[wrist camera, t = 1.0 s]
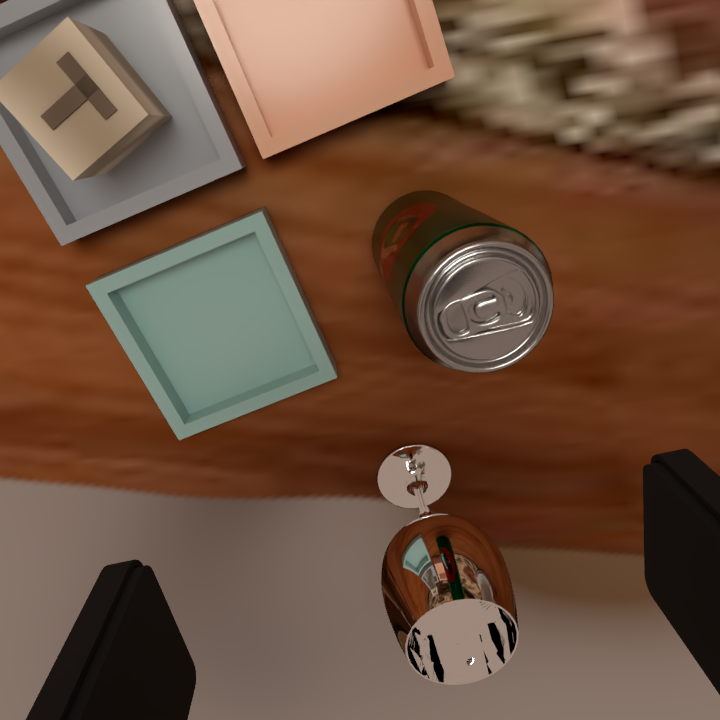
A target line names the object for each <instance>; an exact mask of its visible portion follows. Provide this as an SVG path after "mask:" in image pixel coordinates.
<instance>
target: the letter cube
mask: <svg viewBox="0 0 720 720" xmlns="http://www.w3.org/2000/svg"><path fill="white" fill-rule="evenodd" d="M0 102H1V103H2V104H3V105H4V106H5V107H6V108H7V109H8V110H9V111H10V113H11V114H12V115H13V116H14V117H15V118H16V119H17V120H18V121H19V122H20V123H21V125H22V126H23V127H24V128H25V129H26V130H27V131H28V132H29V133H30V134H31V135H32V137H33V138H34V139H35V140H36V141H37V142H38V143H39V144H40V145H41V146H42V147H43V149H44V150H45V151H46V152H47V153H48V154H49V155H50V156H51V157H52V158H53V159H54V161H55V162H56V163H57V164H58V165H59V166H60V167H61V168H62V169H63V170H64V172H65V173H66V174H67V175H68V176H69V177H70V178H71V179H72V180H73V181H74V180H79V179H84V178H89V177H93V176H98V175H103V174H107V173H108V172H110V171H111V170H112V169H113V168H114V167H115V166H117V165H118V164H119V163H120V162H121V161H122V160H123V159H125V158H126V157H127V156H128V155H129V154H130V153H132V152H133V151H134V150H135V149H136V148H137V147H138V146H140V145H141V144H142V143H143V142H144V141H145V140H147V139H148V138H149V137H150V136H151V135H152V134H153V133H155V132H156V131H157V130H158V129H159V128H160V127H161V126H163V125H164V124H165V123H166V122H167V121H168V120H170V119H171V118H172V115H171V114H170V113H169V112H168V111H167V109H166V108H165V107H164V106H163V104H162V103H161V102H160V101H159V99H158V98H157V97H156V96H155V94H154V93H153V92H152V91H151V90H150V88H149V87H148V86H147V85H146V83H145V82H144V81H143V80H142V78H141V77H140V76H139V75H138V73H137V72H136V71H135V70H134V69H133V67H132V66H131V65H130V64H129V62H128V61H127V60H126V59H125V57H124V56H123V55H122V54H121V52H120V51H119V50H118V49H117V47H116V46H115V45H114V44H113V43H112V41H111V40H110V39H109V38H108V36H107V35H106V34H105V33H102V32H100V31H98V30H96V29H94V28H92V27H89V26H87V25H85V24H83V23H81V22H78V21H76V20H74V19H72V18H70V17H67V18H66V19H64V20H63V21H62V22H61V23H60V24H59V25H58V26H57V27H56V28H55V29H54V30H53V31H52V32H51V33H50V34H49V35H48V36H46V37H45V38H44V39H43V40H42V41H41V42H40V43H39V44H38V45H37V46H36V47H35V48H34V49H33V50H32V51H31V52H30V53H28V54H27V55H26V56H25V57H24V58H23V59H22V60H21V61H20V62H19V63H18V64H17V65H16V66H15V67H14V68H13V69H12V70H11V71H9V72H8V73H7V74H6V75H5V76H4V77H3V78H2V79H1V80H0Z"/></svg>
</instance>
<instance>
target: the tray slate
mask: <svg viewBox="0 0 720 720" xmlns="http://www.w3.org/2000/svg"><path fill="white" fill-rule="evenodd" d="M67 17H70V18H72V19H74V20H76V21H78V22H81V23H83V24H85V25H87V26H89V27H92V28H94V29H96V30H98V31H100V32H102V33H105V34H106V35H107V36H108V38H109V39H110V40H111V41H112V43H113V44H114V45H115V46H116V47H117V49H118V50H119V51H120V52H121V54H122V55H123V56H124V57H125V59H126V60H127V61H128V62H129V64H130V65H131V66H132V67H133V69H134V70H135V71H136V72H137V73H138V75H139V76H140V77H141V78H142V80H143V81H144V82H145V83H146V85H147V86H148V87H149V88H150V90H151V91H152V92H153V93H154V94H155V96H156V97H157V98H158V99H159V101H160V102H161V103H162V104H163V106H164V107H165V108H166V109H167V111H168V112H169V113H170V114H171V115H172V118H171V119H170V120H168V121H167V122H166V123H165V124H164V125H163V126H161V127H160V128H159V129H158V130H157V131H156V132H155V133H153V134H152V135H151V136H150V137H149V138H148V139H147V140H145V141H144V142H143V143H142V144H141V145H140V146H138V147H137V148H136V149H135V150H134V151H133V152H132V153H130V154H129V155H128V156H127V157H126V158H125V159H123V160H122V161H121V162H120V163H119V164H118V165H117V166H115V167H114V168H113V169H112V170H111V171H110V172H108V173H107V174H103V175H98V176H93V177H89V178H84V179H79V180H74V181H73V180H72V179H71V178H70V177H69V176H68V175H67V174H66V173H65V172H64V170H63V169H62V168H61V167H60V166H59V165H58V164H57V163H56V162H55V161H54V159H53V158H52V157H51V156H50V155H49V154H48V153H47V152H46V151H45V150H44V149H43V147H42V146H41V145H40V144H39V143H38V142H37V141H36V140H35V139H34V138H33V137H32V135H31V134H30V133H29V132H28V131H27V130H26V129H25V128H24V127H23V126H22V125H21V123H20V122H19V121H18V120H17V119H16V118H15V117H14V116H13V115H12V114H11V113H10V111H9V110H8V109H7V108H6V107H5V106H4V105H3V104H2V103H1V102H0V145H1V147H2V148H3V150H4V152H5V153H6V155H7V157H8V158H9V160H10V162H11V163H12V165H13V167H14V168H15V170H16V172H17V173H18V175H19V177H20V178H21V180H22V182H23V183H24V185H25V187H26V188H27V190H28V191H29V193H30V195H31V196H32V198H33V200H34V201H35V203H36V205H37V206H38V208H39V210H40V211H41V213H42V215H43V216H44V218H45V220H46V221H47V223H48V225H49V226H50V228H51V230H52V231H53V233H54V234H55V236H56V238H57V239H58V241H59V243H60V244H61V246H63V245H65V244H67V243H70V242H72V241H74V240H77V239H79V238H81V237H84V236H86V235H88V234H91V233H93V232H95V231H98V230H100V229H102V228H105V227H107V226H109V225H112V224H114V223H116V222H119V221H121V220H123V219H126V218H128V217H130V216H133V215H135V214H137V213H140V212H142V211H144V210H146V209H149V208H151V207H153V206H156V205H158V204H160V203H163V202H165V201H167V200H170V199H172V198H174V197H177V196H179V195H181V194H184V193H186V192H188V191H191V190H193V189H195V188H198V187H200V186H202V185H205V184H207V183H209V182H212V181H214V180H216V179H219V178H221V177H223V176H225V175H228V174H230V173H232V172H235V171H237V170H239V169H242V168H244V167H246V166H247V165H246V163H245V161H244V158H243V156H242V154H241V152H240V150H239V147H238V145H237V143H236V141H235V139H234V136H233V134H232V132H231V130H230V127H229V125H228V123H227V121H226V119H225V116H224V114H223V112H222V110H221V107H220V105H219V103H218V101H217V99H216V96H215V94H214V92H213V90H212V87H211V85H210V83H209V81H208V79H207V76H206V74H205V72H204V70H203V68H202V65H201V63H200V61H199V59H198V56H197V54H196V52H195V50H194V48H193V45H192V43H191V41H190V39H189V36H188V34H187V32H186V30H185V28H184V25H183V23H182V21H181V19H180V16H179V14H178V12H177V10H176V8H175V5H174V3H173V1H172V0H8V1H6V2H4V3H2V4H0V80H1V79H2V78H3V77H4V76H5V75H6V74H7V73H8V72H9V71H11V70H12V69H13V68H14V67H15V66H16V65H17V64H18V63H19V62H20V61H21V60H22V59H23V58H24V57H25V56H26V55H27V54H28V53H30V52H31V51H32V50H33V49H34V48H35V47H36V46H37V45H38V44H39V43H40V42H41V41H42V40H43V39H44V38H45V37H46V36H48V35H49V34H50V33H51V32H52V31H53V30H54V29H55V28H56V27H57V26H58V25H59V24H60V23H61V22H62V21H63V20H64V19H66V18H67Z"/></svg>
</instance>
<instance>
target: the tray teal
mask: <svg viewBox="0 0 720 720" xmlns="http://www.w3.org/2000/svg"><path fill="white" fill-rule="evenodd" d="M86 287H87V289H88V291H89V292H90V294H91V296H92V297H93V299H94V301H95V302H96V304H97V306H98V307H99V309H100V311H101V312H102V314H103V316H104V317H105V319H106V320H107V322H108V324H109V325H110V327H111V329H112V330H113V332H114V334H115V335H116V337H117V339H118V340H119V342H120V344H121V345H122V347H123V349H124V350H125V352H126V354H127V355H128V357H129V359H130V360H131V362H132V363H133V365H134V367H135V368H136V370H137V372H138V373H139V375H140V377H141V378H142V380H143V382H144V383H145V385H146V387H147V388H148V390H149V392H150V393H151V395H152V397H153V398H154V400H155V402H156V403H157V405H158V406H159V408H160V410H161V411H162V413H163V415H164V416H165V418H166V420H167V421H168V423H169V425H170V426H171V428H172V430H173V431H174V433H175V435H176V436H177V438H178V440H181V439H184V438H186V437H189V436H191V435H194V434H196V433H199V432H201V431H204V430H206V429H209V428H211V427H214V426H216V425H219V424H222V423H224V422H227V421H229V420H232V419H234V418H237V417H239V416H242V415H244V414H247V413H249V412H252V411H254V410H257V409H260V408H262V407H265V406H267V405H270V404H272V403H275V402H277V401H280V400H282V399H285V398H287V397H290V396H292V395H295V394H297V393H300V392H303V391H305V390H308V389H310V388H313V387H315V386H318V385H320V384H323V383H325V382H328V381H330V380H333V379H335V378H337V367H336V363H335V360H334V358H333V356H332V354H331V352H330V349H329V347H328V345H327V343H326V340H325V338H324V336H323V334H322V332H321V329H320V327H319V325H318V323H317V320H316V318H315V316H314V314H313V312H312V309H311V307H310V305H309V303H308V300H307V298H306V296H305V294H304V292H303V289H302V287H301V285H300V283H299V281H298V278H297V276H296V274H295V272H294V269H293V267H292V265H291V263H290V261H289V258H288V256H287V254H286V252H285V249H284V247H283V245H282V243H281V241H280V238H279V236H278V234H277V232H276V229H275V227H274V225H273V223H272V221H271V218H270V216H269V214H268V212H267V210H266V207H262V208H260V209H258V210H255V211H253V212H250V213H248V214H246V215H243V216H241V217H239V218H236V219H234V220H232V221H229V222H227V223H224V224H222V225H220V226H217V227H215V228H213V229H210V230H208V231H206V232H203V233H201V234H199V235H196V236H194V237H191V238H189V239H187V240H184V241H182V242H180V243H177V244H175V245H173V246H170V247H168V248H165V249H163V250H161V251H158V252H156V253H154V254H151V255H149V256H147V257H144V258H142V259H139V260H137V261H135V262H132V263H130V264H128V265H125V266H123V267H121V268H118V269H116V270H114V271H111V272H109V273H106V274H104V275H102V276H99V277H98V278H96V279H95V280H93V281H92V282H90V283H89V284H87V285H86Z"/></svg>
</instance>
